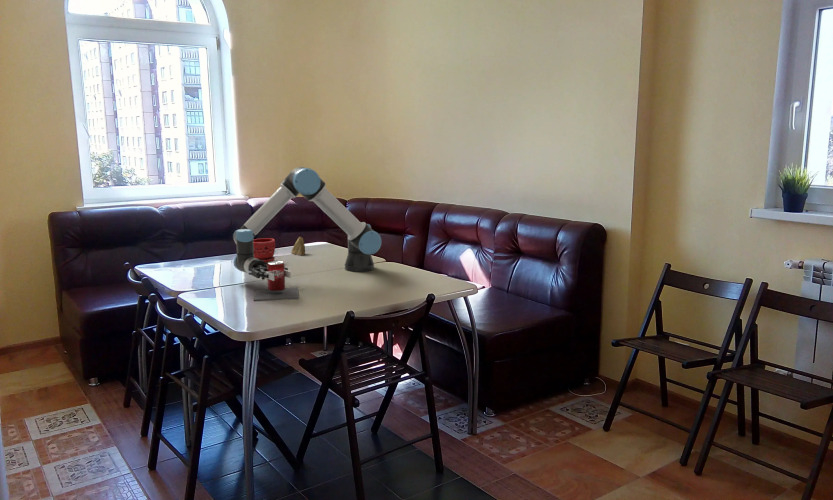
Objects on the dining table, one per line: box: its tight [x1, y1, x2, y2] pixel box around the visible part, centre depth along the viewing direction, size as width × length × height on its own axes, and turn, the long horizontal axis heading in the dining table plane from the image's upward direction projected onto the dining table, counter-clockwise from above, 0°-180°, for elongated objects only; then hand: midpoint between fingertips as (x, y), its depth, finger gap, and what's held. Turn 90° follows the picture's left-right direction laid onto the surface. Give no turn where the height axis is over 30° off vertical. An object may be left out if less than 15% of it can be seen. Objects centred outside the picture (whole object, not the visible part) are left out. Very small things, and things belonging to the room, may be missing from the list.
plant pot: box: [253, 237, 276, 264], centre depth 330 cm, size 13×13×12 cm
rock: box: [290, 236, 306, 256], centre depth 352 cm, size 11×9×10 cm
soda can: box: [266, 260, 286, 292], centre depth 261 cm, size 7×7×12 cm
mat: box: [253, 286, 300, 302], centre depth 262 cm, size 18×18×1 cm
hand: (282, 276), depth 257 cm, fingers closed on soda can, 7 cm apart
